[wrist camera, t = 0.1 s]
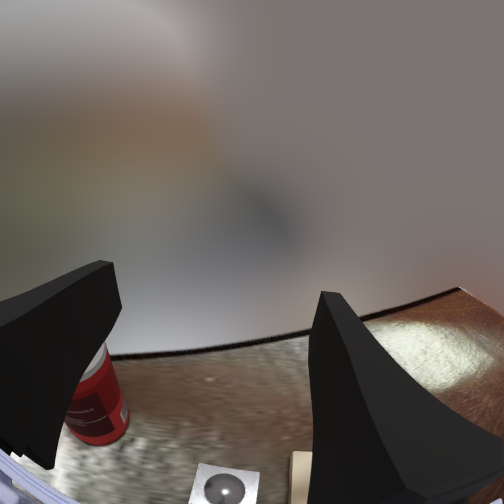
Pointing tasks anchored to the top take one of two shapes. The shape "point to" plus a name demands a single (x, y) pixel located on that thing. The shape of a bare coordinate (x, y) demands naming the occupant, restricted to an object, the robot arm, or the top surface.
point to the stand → (299, 477)
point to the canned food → (98, 404)
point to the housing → (224, 486)
